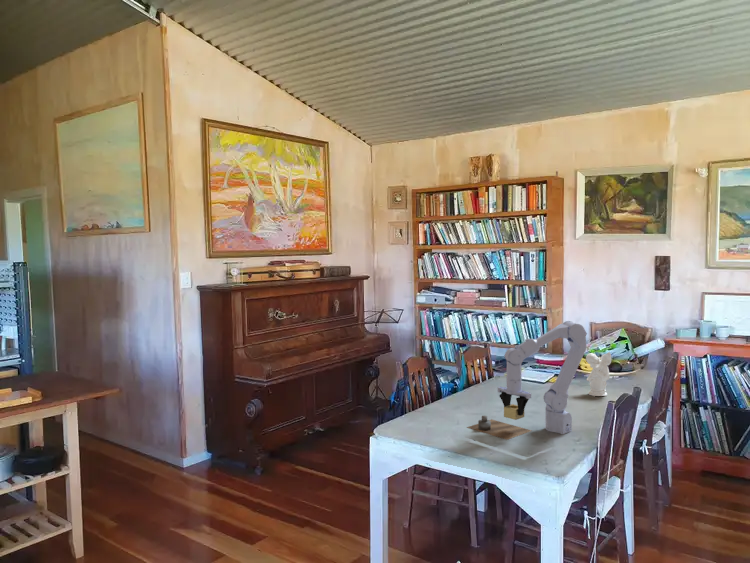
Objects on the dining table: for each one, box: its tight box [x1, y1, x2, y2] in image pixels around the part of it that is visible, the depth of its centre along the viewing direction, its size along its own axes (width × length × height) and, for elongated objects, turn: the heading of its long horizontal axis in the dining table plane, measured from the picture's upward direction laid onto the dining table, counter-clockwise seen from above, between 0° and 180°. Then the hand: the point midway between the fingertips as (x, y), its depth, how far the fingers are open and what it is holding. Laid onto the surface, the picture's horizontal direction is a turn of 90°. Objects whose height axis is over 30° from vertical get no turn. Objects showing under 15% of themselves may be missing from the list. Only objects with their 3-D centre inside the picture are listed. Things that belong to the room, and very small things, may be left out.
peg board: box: [466, 415, 533, 441], centre depth 226 cm, size 20×16×6 cm
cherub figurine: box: [585, 351, 612, 397], centre depth 281 cm, size 12×12×22 cm
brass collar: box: [503, 403, 525, 421], centre depth 224 cm, size 6×6×4 cm
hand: (514, 413), depth 224 cm, fingers closed on brass collar, 6 cm apart
